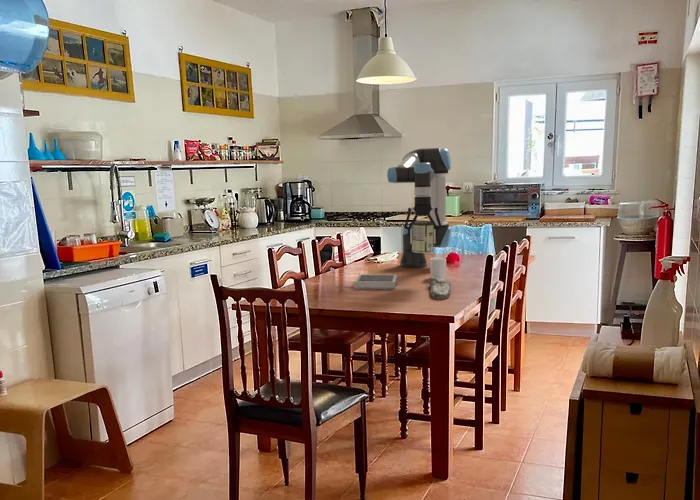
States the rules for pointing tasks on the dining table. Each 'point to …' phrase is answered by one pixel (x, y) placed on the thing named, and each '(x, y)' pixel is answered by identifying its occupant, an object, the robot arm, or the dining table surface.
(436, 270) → the white cup
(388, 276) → the square holder
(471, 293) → the dining table surface
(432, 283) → the elongated rock
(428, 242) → the coffee can
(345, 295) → the dining table surface
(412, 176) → the robot arm
